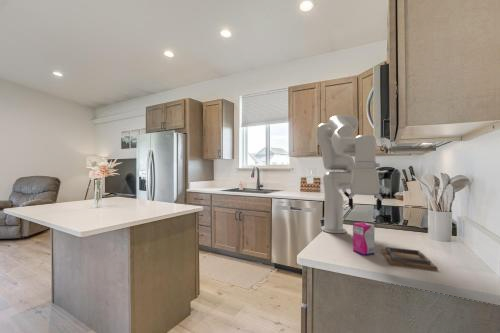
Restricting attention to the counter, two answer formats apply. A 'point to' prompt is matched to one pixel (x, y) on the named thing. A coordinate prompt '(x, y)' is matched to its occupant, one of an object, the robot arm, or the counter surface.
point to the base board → (407, 258)
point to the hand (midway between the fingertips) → (364, 209)
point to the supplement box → (363, 238)
